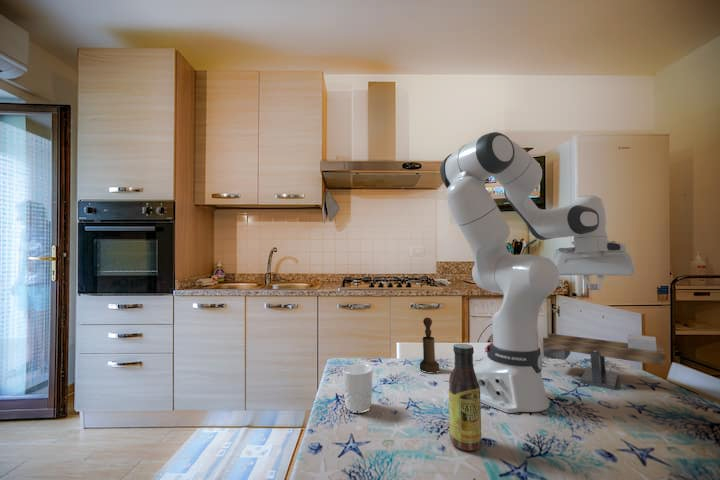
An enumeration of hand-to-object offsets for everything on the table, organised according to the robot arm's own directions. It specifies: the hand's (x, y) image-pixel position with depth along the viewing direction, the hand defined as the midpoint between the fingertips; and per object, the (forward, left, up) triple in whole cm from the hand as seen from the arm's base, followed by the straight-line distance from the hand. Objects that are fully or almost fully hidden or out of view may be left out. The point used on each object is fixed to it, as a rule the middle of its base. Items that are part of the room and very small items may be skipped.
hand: (594, 289), depth 98 cm
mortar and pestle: (-45, -28, -28) cm, 59 cm away
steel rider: (+10, -2, -18) cm, 20 cm away
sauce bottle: (-17, -61, -28) cm, 69 cm away
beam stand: (0, -2, -27) cm, 27 cm away
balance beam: (0, -2, -22) cm, 22 cm away
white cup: (-45, -64, -28) cm, 82 cm away
